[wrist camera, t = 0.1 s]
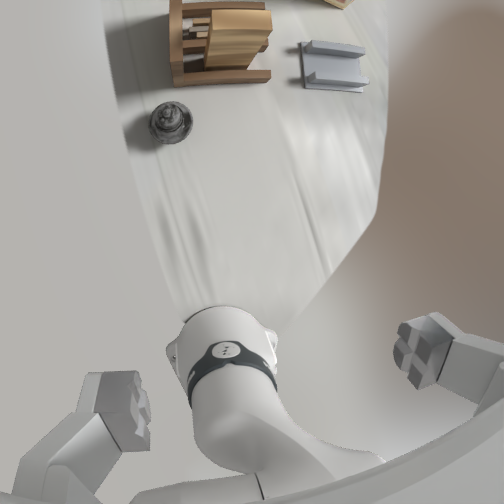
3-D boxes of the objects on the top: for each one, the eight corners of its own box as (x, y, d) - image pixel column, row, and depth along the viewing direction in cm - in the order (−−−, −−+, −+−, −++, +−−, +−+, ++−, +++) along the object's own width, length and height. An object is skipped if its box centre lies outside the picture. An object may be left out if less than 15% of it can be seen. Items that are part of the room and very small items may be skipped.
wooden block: (245, 70, 42) (272, 29, 26) (204, 72, 41) (212, 29, 25) (244, 56, 41) (270, 10, 26) (203, 57, 40) (211, 9, 25)
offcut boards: (256, 43, 41) (261, 35, 37) (189, 46, 39) (189, 37, 36) (255, 26, 40) (260, 17, 36) (189, 28, 38) (189, 18, 35)
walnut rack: (266, 82, 43) (290, 58, 31) (174, 87, 40) (169, 62, 29) (260, 10, 39) (280, -27, 28) (172, 13, 37) (170, -27, 25)
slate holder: (361, 92, 45) (372, 89, 42) (304, 88, 44) (313, 83, 40) (356, 49, 43) (366, 43, 40) (300, 42, 42) (308, 35, 38)
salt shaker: (143, 125, 41) (128, 111, 30) (175, 98, 41) (170, 75, 29) (169, 154, 43) (162, 150, 32) (201, 127, 43) (205, 114, 31)
